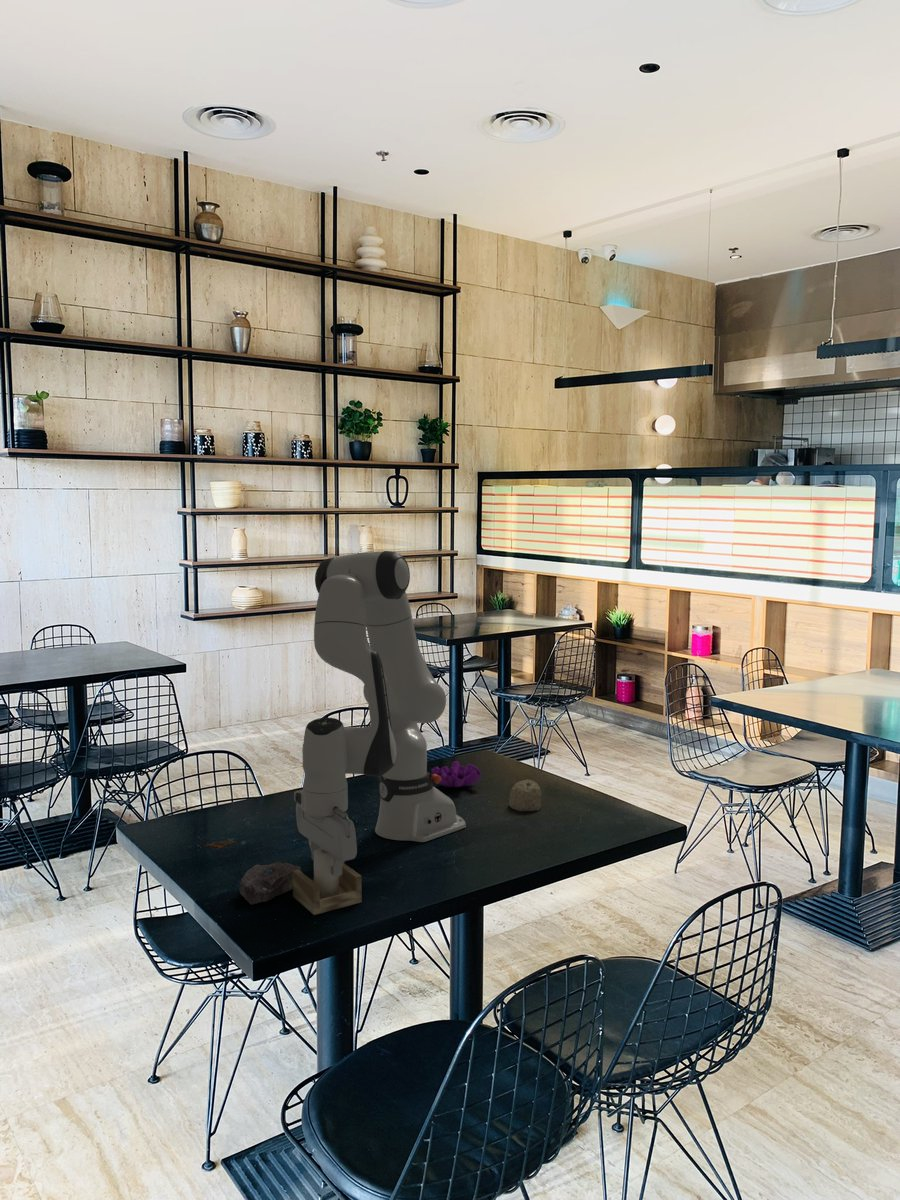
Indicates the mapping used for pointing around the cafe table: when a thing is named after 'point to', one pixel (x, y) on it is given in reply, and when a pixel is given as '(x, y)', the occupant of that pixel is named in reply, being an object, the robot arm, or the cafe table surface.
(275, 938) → the cafe table surface
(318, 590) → the robot arm
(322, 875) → the roll
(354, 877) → the holder
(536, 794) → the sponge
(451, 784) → the purple coral
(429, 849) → the cafe table surface
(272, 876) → the rock
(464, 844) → the cafe table surface
